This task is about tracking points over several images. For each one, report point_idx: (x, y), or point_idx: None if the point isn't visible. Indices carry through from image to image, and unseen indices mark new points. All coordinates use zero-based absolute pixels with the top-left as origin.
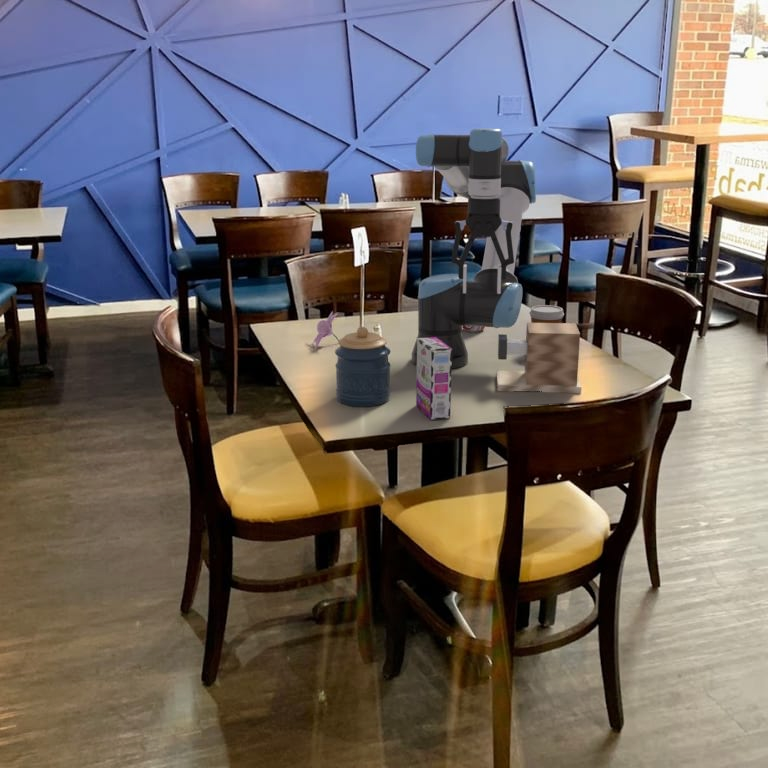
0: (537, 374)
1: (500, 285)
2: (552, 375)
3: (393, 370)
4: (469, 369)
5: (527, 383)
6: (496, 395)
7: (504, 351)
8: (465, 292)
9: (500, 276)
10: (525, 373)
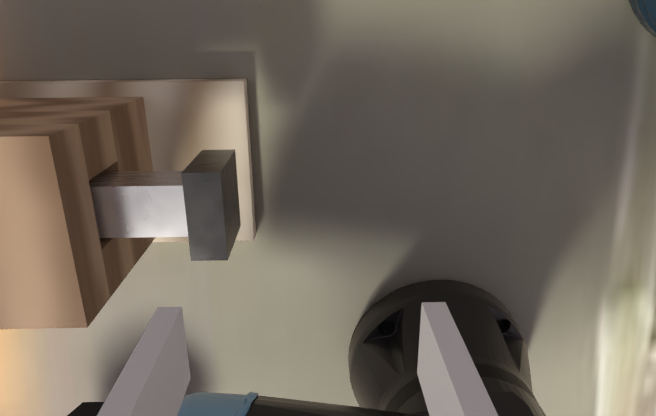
0: (91, 103)
1: (138, 347)
2: (36, 103)
3: (580, 262)
4: (342, 291)
5: (139, 97)
6: (249, 31)
7: (204, 157)
8: (426, 306)
9: (109, 404)
10: None
